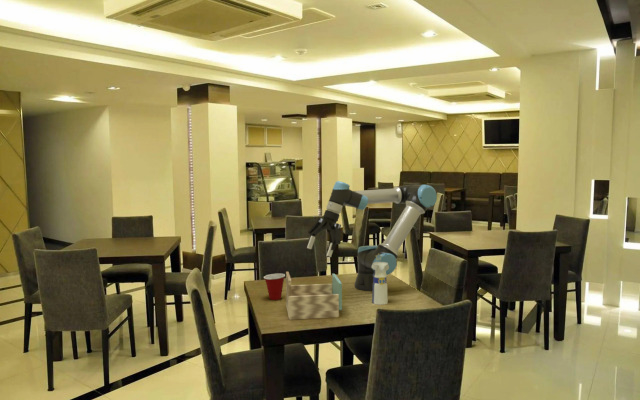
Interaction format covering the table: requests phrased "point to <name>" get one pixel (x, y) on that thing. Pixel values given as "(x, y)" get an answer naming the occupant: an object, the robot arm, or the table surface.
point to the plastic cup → (274, 285)
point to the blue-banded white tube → (379, 282)
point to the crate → (310, 301)
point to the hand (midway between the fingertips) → (318, 252)
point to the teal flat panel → (337, 289)
